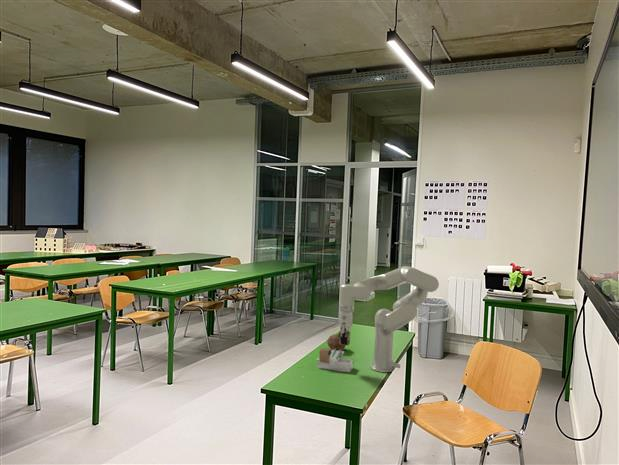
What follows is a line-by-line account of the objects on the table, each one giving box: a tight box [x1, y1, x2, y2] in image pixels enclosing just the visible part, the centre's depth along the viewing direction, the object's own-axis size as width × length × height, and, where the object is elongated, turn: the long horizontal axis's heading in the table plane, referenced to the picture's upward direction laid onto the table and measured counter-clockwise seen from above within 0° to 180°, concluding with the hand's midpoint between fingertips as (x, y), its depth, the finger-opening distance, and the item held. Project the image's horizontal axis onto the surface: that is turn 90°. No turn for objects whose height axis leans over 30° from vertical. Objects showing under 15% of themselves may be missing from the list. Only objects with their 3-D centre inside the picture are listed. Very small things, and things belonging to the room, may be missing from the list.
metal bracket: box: [315, 347, 345, 362], centre depth 245 cm, size 14×6×15 cm
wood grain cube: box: [338, 330, 351, 346], centre depth 229 cm, size 5×5×6 cm
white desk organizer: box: [317, 347, 354, 373], centre depth 231 cm, size 17×8×9 cm, turn 73°
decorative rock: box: [326, 333, 347, 351], centre depth 262 cm, size 13×11×10 cm
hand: (344, 342), depth 229 cm, fingers closed on wood grain cube, 4 cm apart
